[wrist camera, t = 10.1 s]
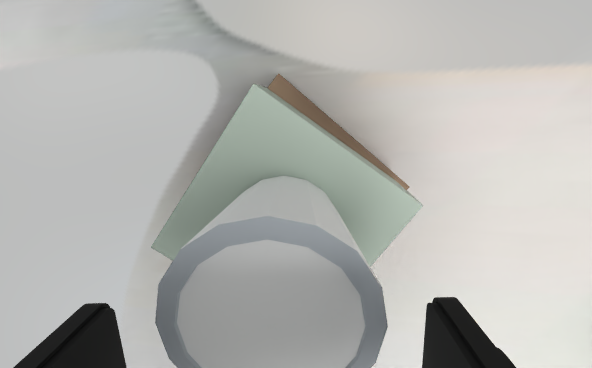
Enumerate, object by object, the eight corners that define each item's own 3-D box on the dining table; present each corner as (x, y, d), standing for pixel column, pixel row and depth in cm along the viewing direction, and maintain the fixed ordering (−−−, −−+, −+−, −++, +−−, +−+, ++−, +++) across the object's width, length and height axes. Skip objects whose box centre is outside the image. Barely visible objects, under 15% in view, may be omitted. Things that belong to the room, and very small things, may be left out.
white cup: (323, 140, 14) (339, 179, 8) (370, 262, 16) (418, 381, 9) (194, 193, 15) (107, 269, 9) (251, 303, 17) (217, 440, 10)
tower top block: (305, 288, 22) (305, 340, 17) (186, 213, 21) (151, 247, 16) (394, 180, 20) (423, 205, 15) (266, 87, 19) (253, 83, 14)
